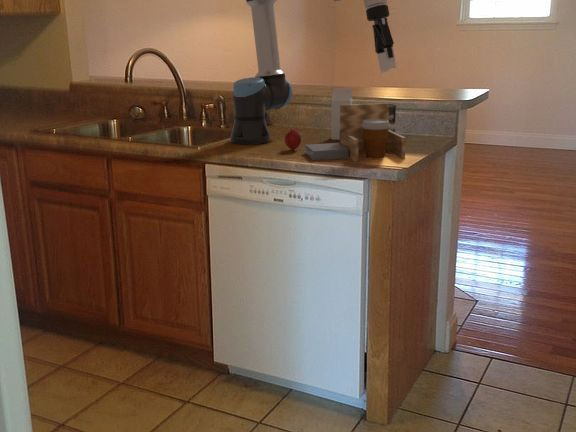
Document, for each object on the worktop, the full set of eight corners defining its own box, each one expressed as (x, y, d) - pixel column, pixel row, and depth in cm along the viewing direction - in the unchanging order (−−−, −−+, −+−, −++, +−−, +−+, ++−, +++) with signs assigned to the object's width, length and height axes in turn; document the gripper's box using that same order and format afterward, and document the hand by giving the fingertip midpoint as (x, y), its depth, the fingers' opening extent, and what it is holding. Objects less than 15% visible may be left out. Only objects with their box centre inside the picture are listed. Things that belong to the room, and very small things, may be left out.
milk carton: (350, 140, 250) (350, 89, 245) (331, 140, 252) (331, 89, 246) (352, 137, 257) (352, 87, 252) (333, 136, 259) (334, 87, 253)
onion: (285, 148, 236) (285, 126, 234) (301, 148, 236) (301, 126, 234) (284, 151, 231) (283, 129, 229) (300, 151, 230) (300, 129, 228)
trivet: (313, 160, 216) (313, 151, 216) (305, 153, 228) (305, 144, 227) (348, 158, 219) (348, 149, 218) (338, 151, 230) (338, 142, 229)
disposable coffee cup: (356, 155, 223) (357, 119, 220) (383, 153, 225) (384, 118, 222) (366, 160, 214) (366, 123, 211) (393, 158, 216) (394, 122, 213)
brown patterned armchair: (354, 161, 214) (355, 111, 209) (339, 151, 231) (339, 105, 226) (404, 158, 217) (406, 109, 212) (386, 148, 234) (387, 103, 229)
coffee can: (398, 145, 239) (400, 106, 235) (371, 146, 238) (372, 107, 234) (390, 140, 249) (391, 102, 245) (363, 141, 247) (364, 103, 243)
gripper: (394, -3, 209) (407, 64, 212) (380, 11, 234) (392, 70, 236) (371, 2, 209) (384, 69, 212) (360, 15, 233) (371, 75, 236)
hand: (388, 70), depth 224 cm, fingers open, 13 cm apart
